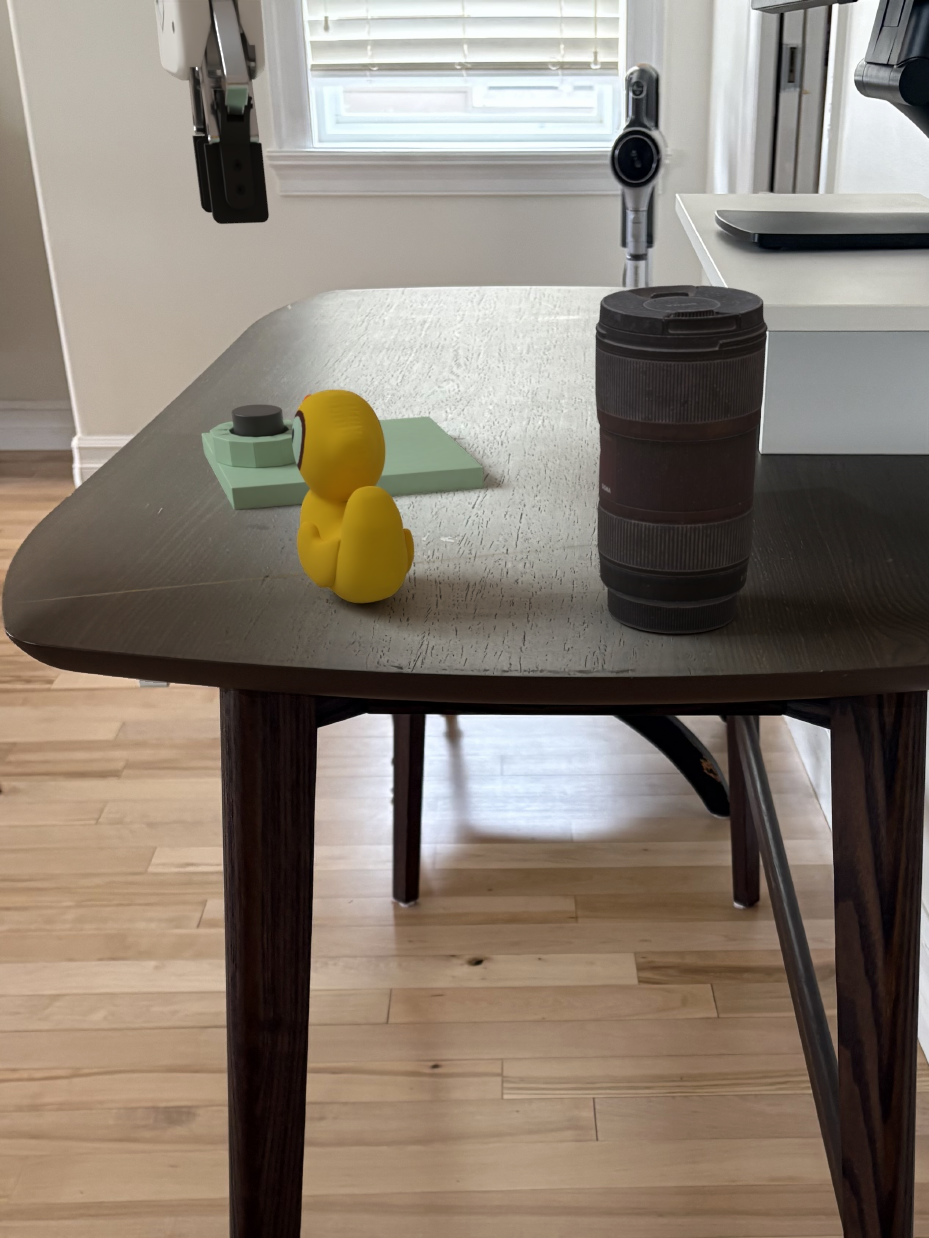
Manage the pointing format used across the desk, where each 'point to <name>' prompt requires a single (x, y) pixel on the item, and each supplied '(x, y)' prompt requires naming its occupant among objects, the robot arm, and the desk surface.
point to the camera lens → (677, 451)
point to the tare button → (258, 421)
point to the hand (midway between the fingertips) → (234, 213)
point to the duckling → (347, 500)
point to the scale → (273, 479)
